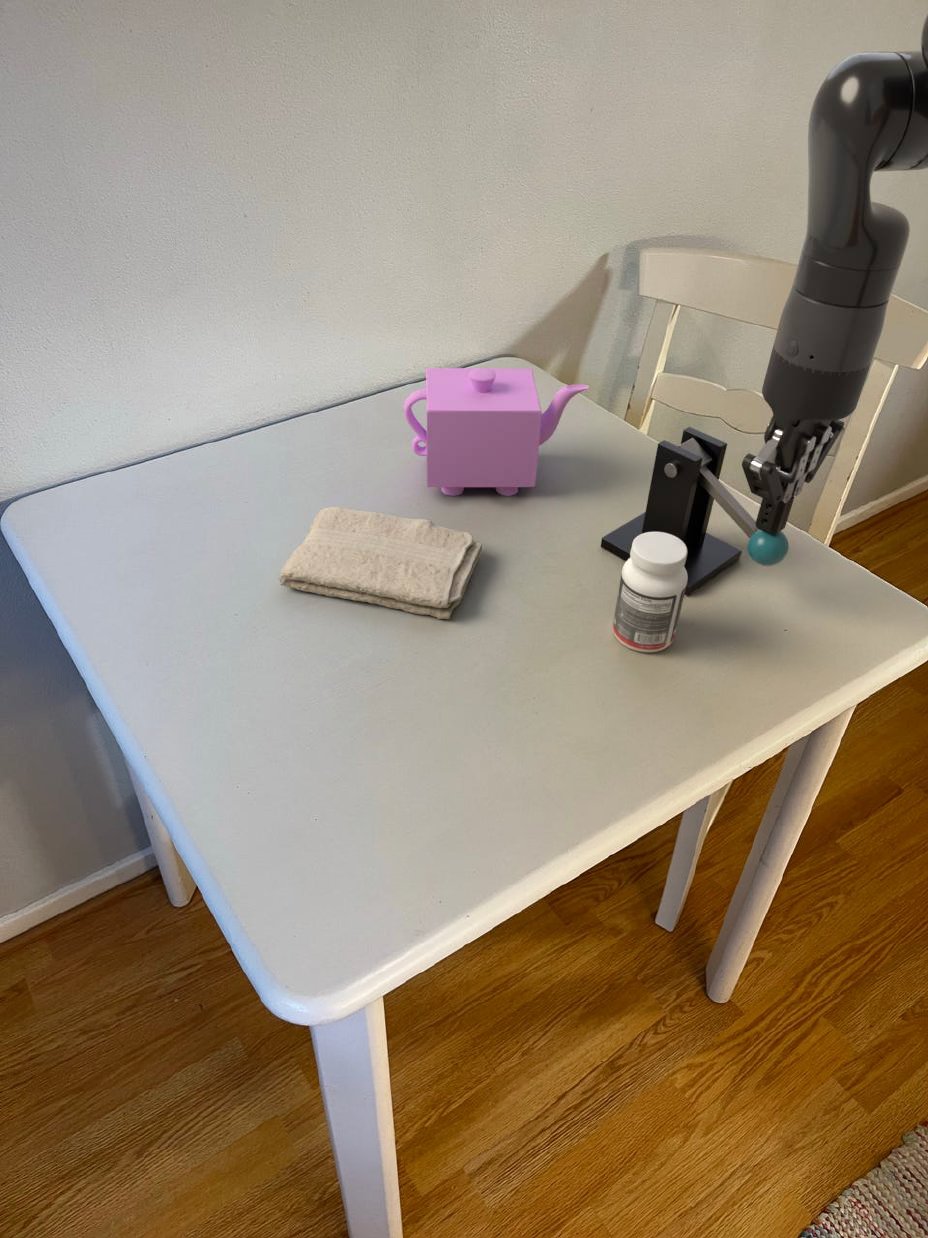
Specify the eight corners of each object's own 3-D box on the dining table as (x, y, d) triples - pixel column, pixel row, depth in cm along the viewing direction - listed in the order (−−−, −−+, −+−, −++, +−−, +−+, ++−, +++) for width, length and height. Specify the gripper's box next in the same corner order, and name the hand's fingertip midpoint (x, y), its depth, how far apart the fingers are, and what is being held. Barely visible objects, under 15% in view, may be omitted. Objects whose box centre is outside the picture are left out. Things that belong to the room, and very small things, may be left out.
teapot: (404, 499, 99) (402, 394, 91) (405, 452, 107) (403, 352, 99) (584, 498, 100) (597, 395, 92) (572, 452, 108) (583, 353, 100)
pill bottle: (637, 606, 86) (653, 519, 79) (686, 635, 83) (708, 547, 76) (598, 633, 83) (613, 545, 76) (648, 664, 80) (668, 575, 73)
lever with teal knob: (779, 563, 85) (803, 542, 82) (758, 579, 83) (782, 558, 80) (681, 454, 88) (700, 431, 85) (658, 467, 86) (678, 443, 83)
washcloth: (456, 625, 83) (457, 599, 81) (275, 592, 86) (271, 566, 84) (485, 552, 92) (486, 527, 90) (320, 524, 95) (317, 499, 93)
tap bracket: (739, 560, 92) (770, 449, 84) (687, 596, 87) (714, 483, 79) (653, 515, 98) (674, 407, 90) (600, 547, 93) (616, 436, 85)
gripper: (823, 388, 65) (765, 577, 76) (907, 340, 72) (842, 519, 84) (735, 355, 69) (692, 538, 81) (823, 312, 76) (772, 486, 88)
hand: (769, 528), depth 82 cm, fingers closed
